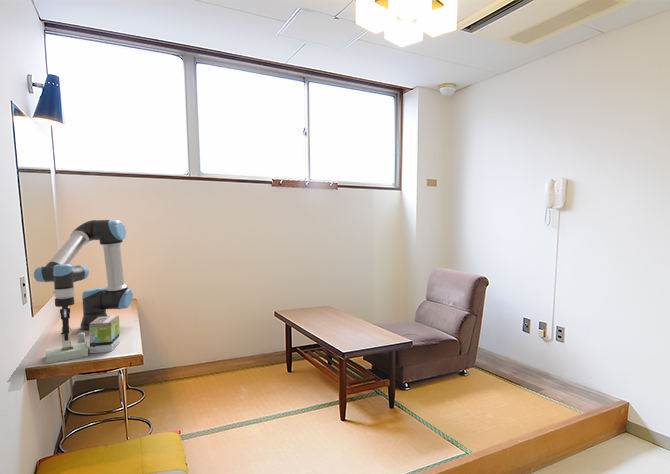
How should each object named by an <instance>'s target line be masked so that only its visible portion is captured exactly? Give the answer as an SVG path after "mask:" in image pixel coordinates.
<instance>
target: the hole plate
mask: <svg viewBox="0 0 670 474" xmlns="http://www.w3.org/2000/svg"><path fill="white" fill-rule="evenodd" d="M83 356H84V357H88V356H89V347H88V342H87V341H85V342H83V343H78V342H77V343H71V349H70V350H64V351H63V345H61V346H60V345H59V346H54V347H50V348H49V347H48V348H46V353H45V363H46V364H51V363H57V362H63V361H66V360H72V359H79V358H83Z"/></svg>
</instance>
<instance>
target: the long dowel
mask: <svg viewBox="0 0 670 474" xmlns="http://www.w3.org/2000/svg"><path fill="white" fill-rule="evenodd" d="M70 328H71V326H70V325H69V331H70V332H69V333H70V334H71V330H70ZM61 333H63V326H62V327H61ZM61 340H62V341H61V342H62V344H63V334H61ZM71 341H72V340H71V336H70V347H65V348H63V351H64V350H70V349H71V344H72V342H71Z"/></svg>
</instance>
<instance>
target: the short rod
mask: <svg viewBox="0 0 670 474" xmlns="http://www.w3.org/2000/svg"><path fill="white" fill-rule="evenodd" d="M83 342H86V332H83V331H82V332H78V333H77V343H83Z"/></svg>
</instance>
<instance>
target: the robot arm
mask: <svg viewBox="0 0 670 474" xmlns="http://www.w3.org/2000/svg"><path fill="white" fill-rule="evenodd" d="M126 234H127V229H126V226H125V225H124V223H123V222H122V221H120V220H119V219H98V220H97V219H92V220H87V221H85V222H84V223H82V224H80V225H78V226H77V227H76V228H75V229H73V231H71V233H70V237H69V238H68V240H67V241H65V243H64V244H63V245H62V246H61V247H60V249H59V250H58V251H57V252H56V253H55V255H54V256H53V257H52V258H51V259H50V260H49V262H48V263H46V265H45V266H44V265H43V266H39V267H36V268H35V269H34V271H33V278H34V280H35V281H36V282H39V283H53V285H54V286H53V287H54V289H53V290H54V291H52V293H53V294H54V298H55V299H54V306H55V307H57V308H59V307H60V308H61V309H59V314H60V320H62V323H61V325H62V327H63V333H62V332H61V333H60V335H62V334H63V343H62V346H63V348H65V347H70V337H71V330H72V328H71V327H70V331H69V326H70V322H69V321H70V317H71V316H70V314H71V308H68V307H70V306H73V305H75V297H74V296H75V288H74V283H76V282H79V281H84V280H85V279H87V278H88V276H89V274H90V271H89V268H88V267H87V266H85V265H81V264H80V265H72V264H71V262H72V260H73V259H74V258H75V257H76V255H77V254H79V252H80V251H81V249H82V248H83V247H84V245H85V246H86V245H88V243H90V242H91V241H99V245H100V246H102V247H103V253H104V254H103V256H104V263H105V274H106V279H107V286H106V287H104V286H102V287H101V286H99V287H94V288H89V289H86V290H84V291H83V292H82V295H81V296H82V297H81V298H82V312H83V314H82V315H83V316H82V319H81V322H80V325H79V326H80V330H82V331H89V324H90V323H91V322H93V321H94V320H95V319H96V318H98V317H103V316H108V314H107V310H123V309H125V310H126V309H127V308H129V306H130V305H131V303H132V302H133V301H132V300H133V290H132V289H130V288H129V286H128V284H126V283H125V276H124V269H123V260H122V251H121V245H122V244H123V242H124V241H123V240H124V239H126V236H127V235H126ZM69 332H70V333H69Z"/></svg>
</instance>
